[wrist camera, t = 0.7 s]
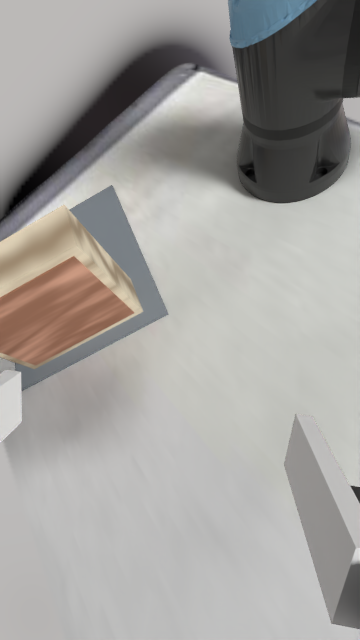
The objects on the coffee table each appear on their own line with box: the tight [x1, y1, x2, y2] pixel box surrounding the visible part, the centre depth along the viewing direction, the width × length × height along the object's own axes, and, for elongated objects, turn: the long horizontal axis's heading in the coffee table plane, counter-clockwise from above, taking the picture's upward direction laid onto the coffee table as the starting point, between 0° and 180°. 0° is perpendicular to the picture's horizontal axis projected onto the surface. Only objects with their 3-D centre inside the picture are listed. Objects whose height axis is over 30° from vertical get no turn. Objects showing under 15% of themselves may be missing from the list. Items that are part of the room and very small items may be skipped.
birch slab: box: [0, 205, 143, 369], centre depth 40 cm, size 6×18×16 cm, turn 112°
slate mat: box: [15, 185, 168, 391], centre depth 52 cm, size 28×24×1 cm
